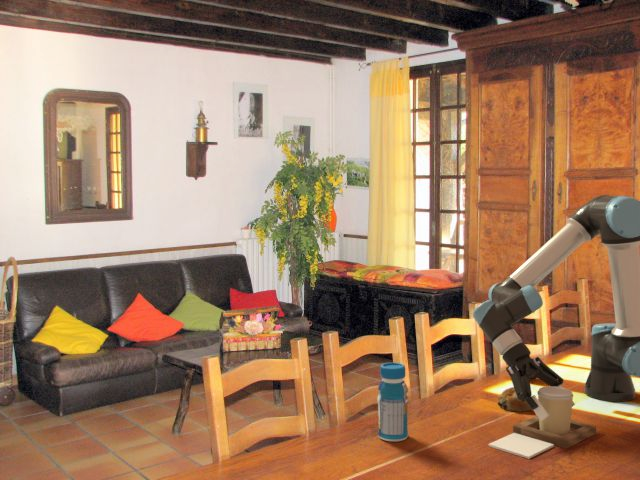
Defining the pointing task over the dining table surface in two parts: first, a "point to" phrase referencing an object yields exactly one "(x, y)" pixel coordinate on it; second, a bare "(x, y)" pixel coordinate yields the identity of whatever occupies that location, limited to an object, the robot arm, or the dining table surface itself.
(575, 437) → the square frame
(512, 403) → the bread roll
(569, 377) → the dining table surface
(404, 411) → the beverage bottle
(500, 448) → the white tile
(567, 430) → the coffee cup
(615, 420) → the dining table surface
